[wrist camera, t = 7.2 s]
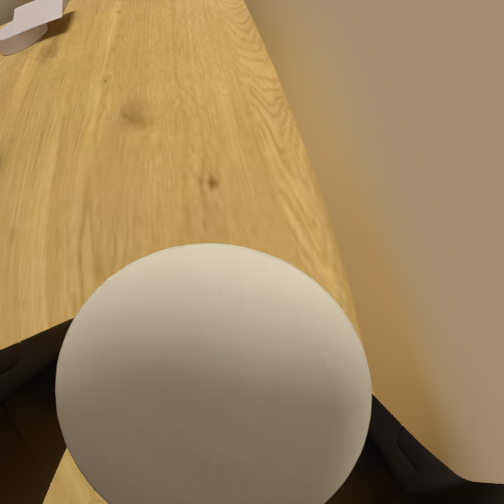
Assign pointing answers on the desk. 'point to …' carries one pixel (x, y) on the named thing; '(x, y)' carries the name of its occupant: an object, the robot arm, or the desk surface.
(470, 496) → the robot arm
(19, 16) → the wedge on round base
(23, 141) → the desk surface
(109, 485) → the pill bottle
